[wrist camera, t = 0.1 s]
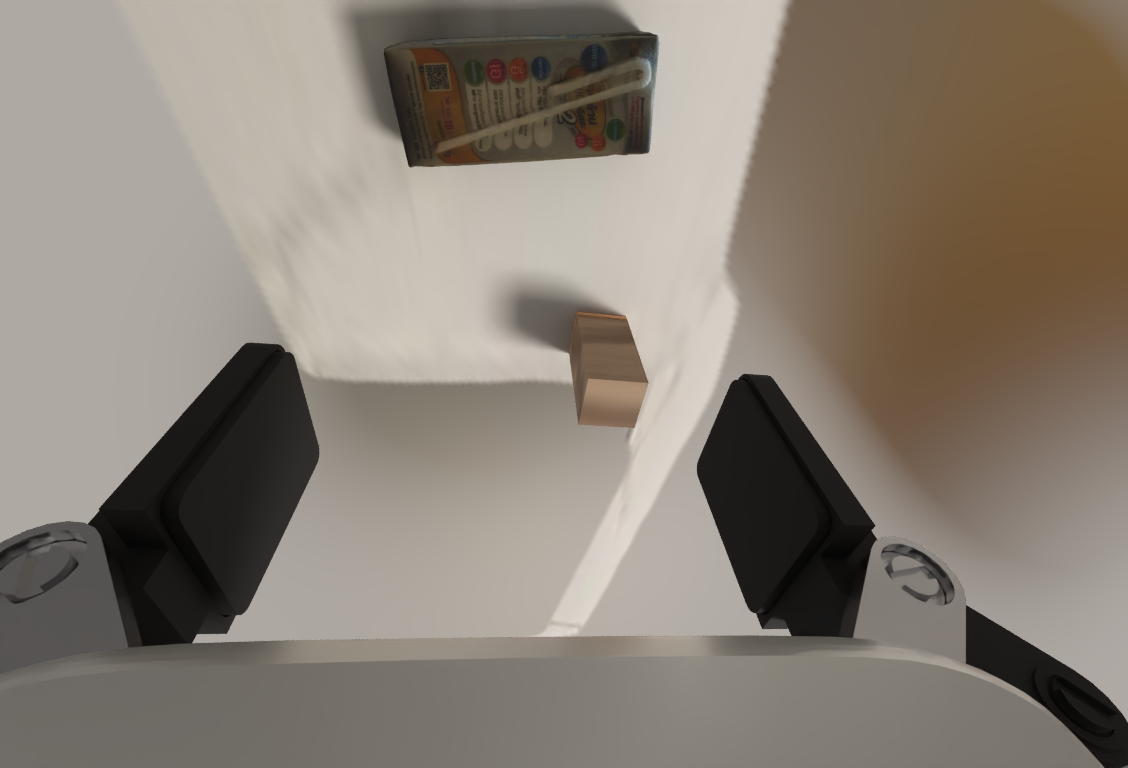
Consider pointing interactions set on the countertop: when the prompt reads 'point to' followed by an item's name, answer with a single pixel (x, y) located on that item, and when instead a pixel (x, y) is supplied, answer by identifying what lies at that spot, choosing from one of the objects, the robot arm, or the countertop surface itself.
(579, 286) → the countertop surface
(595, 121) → the beverage carton
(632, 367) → the wooden block
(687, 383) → the countertop surface
